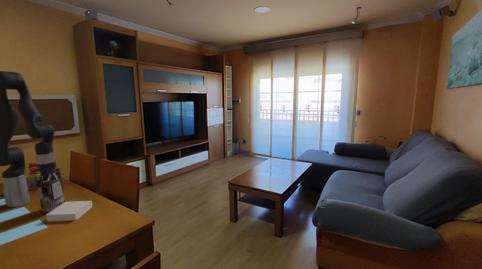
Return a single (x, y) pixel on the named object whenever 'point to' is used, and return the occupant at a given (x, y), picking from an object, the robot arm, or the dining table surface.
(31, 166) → the stacking bear
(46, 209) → the coffee box
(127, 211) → the dining table surface
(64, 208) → the plinth
